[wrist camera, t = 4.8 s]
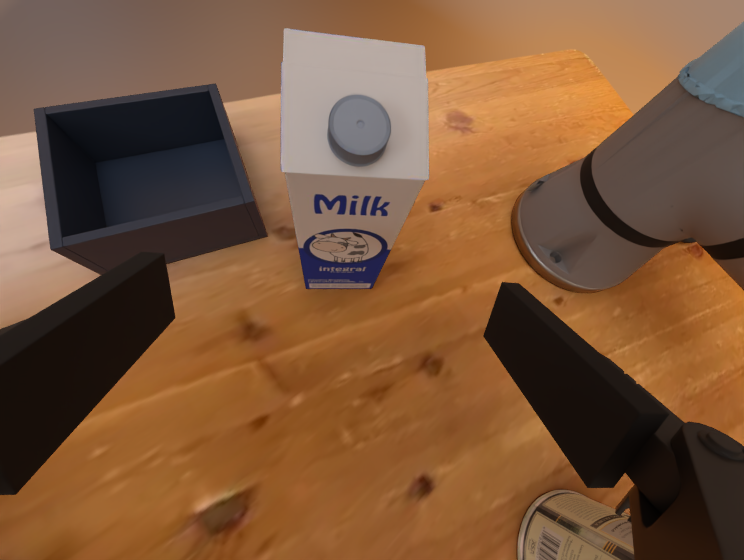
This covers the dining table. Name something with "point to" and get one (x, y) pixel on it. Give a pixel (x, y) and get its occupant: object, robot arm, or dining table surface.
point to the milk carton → (351, 150)
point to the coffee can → (574, 530)
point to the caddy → (144, 178)
